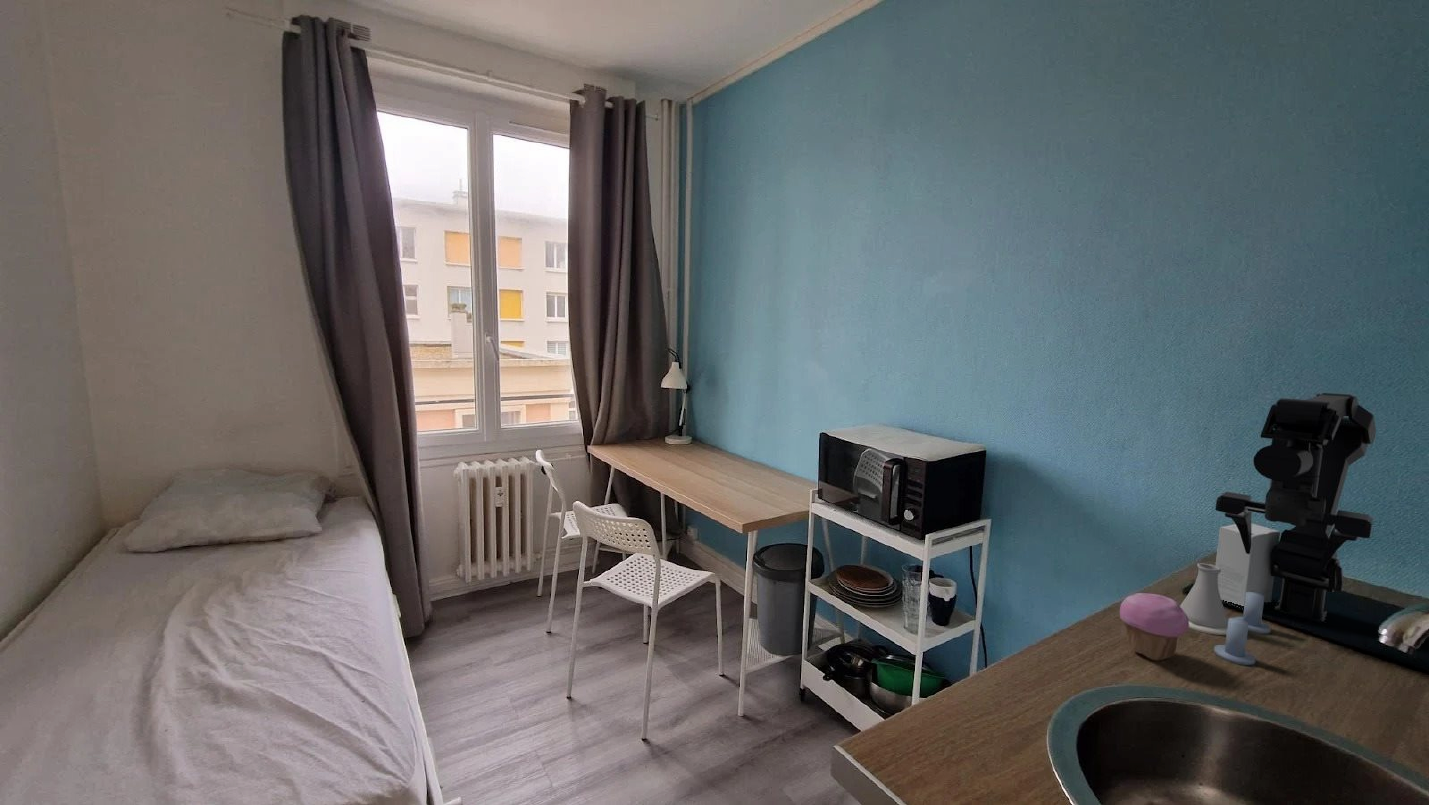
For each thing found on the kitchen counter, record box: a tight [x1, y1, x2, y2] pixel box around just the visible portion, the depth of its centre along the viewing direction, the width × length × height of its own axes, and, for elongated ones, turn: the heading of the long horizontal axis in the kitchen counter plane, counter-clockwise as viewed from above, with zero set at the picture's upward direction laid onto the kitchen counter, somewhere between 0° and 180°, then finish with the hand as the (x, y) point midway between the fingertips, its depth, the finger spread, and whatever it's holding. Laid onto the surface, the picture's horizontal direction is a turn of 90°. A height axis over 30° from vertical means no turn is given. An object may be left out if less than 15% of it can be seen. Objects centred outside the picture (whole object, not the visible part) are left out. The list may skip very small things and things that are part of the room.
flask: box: [1179, 562, 1229, 628], centre depth 105 cm, size 7×7×10 cm
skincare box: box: [1214, 522, 1281, 606], centre depth 114 cm, size 8×6×15 cm
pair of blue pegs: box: [1213, 592, 1272, 666], centre depth 99 cm, size 20×5×6 cm, turn 130°
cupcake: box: [1119, 592, 1190, 662], centre depth 94 cm, size 9×9×10 cm
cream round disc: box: [1188, 620, 1228, 636], centre depth 106 cm, size 9×9×1 cm
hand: (1283, 561), depth 101 cm, fingers open, 9 cm apart
